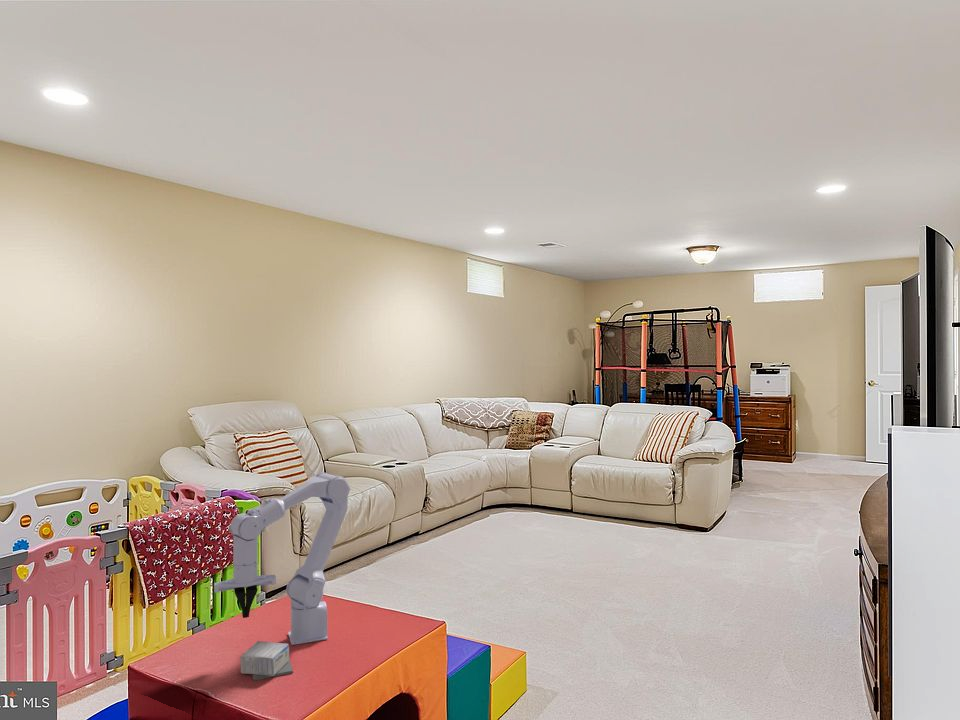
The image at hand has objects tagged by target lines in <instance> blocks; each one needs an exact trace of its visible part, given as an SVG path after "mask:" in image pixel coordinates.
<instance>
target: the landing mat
mask: <svg viewBox="0 0 960 720" xmlns="http://www.w3.org/2000/svg"><path fill="white" fill-rule="evenodd" d="M290 674H294V669H293V666H292V662H291V659H290V658H289V661H288V662H287V663H286V664H285V665H284V666H283V667H282V668H281V669H280V670H279V671H278V672H277V673H276V674H275V675H274V676H267V675H256V674H251V675H252V682H253V681H259V680H264V679H268V678H274V677H279V676H284V675H290Z"/></svg>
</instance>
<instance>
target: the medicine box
mask: <svg viewBox="0 0 960 720" xmlns="http://www.w3.org/2000/svg"><path fill="white" fill-rule="evenodd" d="M289 659H290V646H289V643H286V642H284V643H282V642H273V641H259V640H258V641H256V642H255V643H254V644H252V646H251V647H249V648H248V649H247V650H245V651H244V652H243V654H241V655H240V673H241V674H248V675H252V674H256V675H267V676H274V675H275V674H276V673H277V672H278V671H279V670H280V669H281V668H282V667H283V666H284V665H285V664H286V663H287V662H288V661H289Z"/></svg>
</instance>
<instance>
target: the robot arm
mask: <svg viewBox="0 0 960 720" xmlns="http://www.w3.org/2000/svg"><path fill="white" fill-rule="evenodd" d="M350 492H351V488H350V485H349V483H348V481H347V479H346V478H345V477H343V476H342V475H341V476H340V475H333V474H329V473H327V472H323V471H322V472H318V473H317V474H316V475H313V476H311V477H309V478H308V479H307V480H306V481H305V482H304V483H302V484H300V485H298V486H297V487H296V488H294V489H293V490H291V491H290V492H288V493H287V494H285V495H284V496H282V497H280V498H276V497H272V498H270V497H268V498H266V499H263V503H261V504H259V505H258V506H256V507H254V508H250V509H248V510H247V513H239V514H237V515H235V516H234V517H233V519H232V520H231V522H230V525H228V530H229V532H230V534H231V535H232V536H233V538H232V540H233V543H232V544H233V546H232V548H233V554H232V555H233V559H232V560H233V561H232V563H233V568H232V569H233V571H232V572H233V575H232V576H233V578H230V579H226V580H222V581H218V582H214V584H213V585H214V586H213V587H214V590H213V591H214V594H217V593H220V592H224V591H234V594H235V596H236V599H237V601H238V603H239V605H240V609H241V612H242V618H243V619H245V618H246V619H248V618H250V612H251V611H250V610H251V609H252V608H251V607H252V605H253V602H254V601H255V600H254V599H255V597H256V596H257V593H258V587H261V586H267V585H268V586H269V585H271V586H274V585H277V576H276V574H270V575H269V574H267V575H266V574H265V575H264V574H263V575H258V574H259V573H258V563H259V562H258V561H259V560H258V537H259V536H260V535H261V533H262V531H263V530H264V529H266V528H268V527H269V526H270V525H272V524H274V523H275V522H278V521H279V520H281V519H282V518H284V517H285V513H286V511H287V510H289V509H291V508H293V507H295V506H297V505H298V504H301V503H302V502H305V501H307V500H308V499H310V498H319V499H320V500H321V501H322V503H323V506H324V508H325V511H324V514H323V516H322V519H321V522H320V524H319V527H318V530H317V532H316V535H315V537H314V538H313V542H312V543H311V547H310V549H309V552H308V553H307V556H306V559H305V561H304V564H303V565H302V566H301V567H299V568H297V569H296V570H295V573H294V574H293V576H292V577H291V578H290V580H289V581H288V583H287V585H286V589H285V590H286V595H287V596H288V597H289V598H290V631H288V632H287V635H288V638H290V639H289V641H290V644H291V646H294V645H295V646H296V645H301V644H307V643H312V642H319V641H324V640H328V639H329V637H328V608H327V607H328V606H327V602H326V601H324V600H323V601H322V599H323V596H324V587H325V585H326V578H325V575H324V569H325V568H326V565H327V563H328V560H329V557H330V554H331V552H332V550H333V546H334V544H335V542H336V540H337V536H338V534H339V533H340V529H341V526H342V524H343V522H344V519H345V517H346V514H347V512H348V505H349V503H348V500H349V499H348V496H349V494H350Z"/></svg>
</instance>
